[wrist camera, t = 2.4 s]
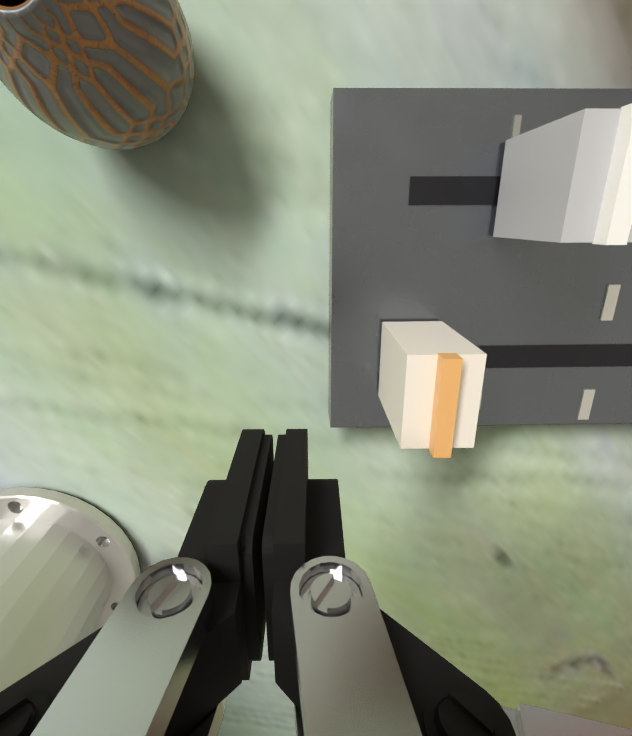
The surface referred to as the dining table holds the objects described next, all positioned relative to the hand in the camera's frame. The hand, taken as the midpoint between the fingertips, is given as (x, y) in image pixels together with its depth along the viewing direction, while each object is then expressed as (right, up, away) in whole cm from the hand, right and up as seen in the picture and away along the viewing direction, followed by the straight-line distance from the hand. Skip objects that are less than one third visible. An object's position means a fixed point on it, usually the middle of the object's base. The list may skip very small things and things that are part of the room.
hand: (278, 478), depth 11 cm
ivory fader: (+6, +3, +10) cm, 12 cm away
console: (+14, +8, +11) cm, 20 cm away
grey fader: (+11, +11, +8) cm, 17 cm away
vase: (-7, +16, +8) cm, 20 cm away
